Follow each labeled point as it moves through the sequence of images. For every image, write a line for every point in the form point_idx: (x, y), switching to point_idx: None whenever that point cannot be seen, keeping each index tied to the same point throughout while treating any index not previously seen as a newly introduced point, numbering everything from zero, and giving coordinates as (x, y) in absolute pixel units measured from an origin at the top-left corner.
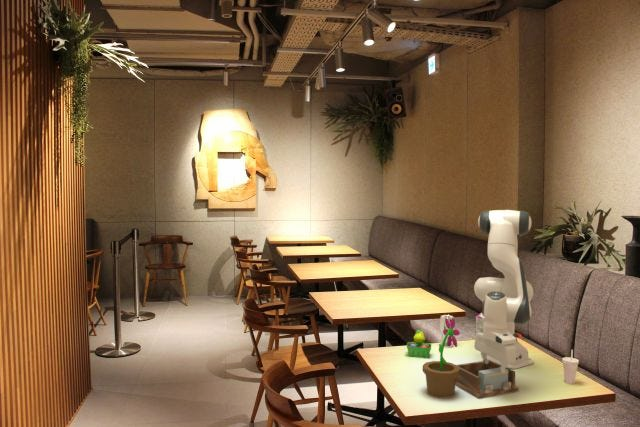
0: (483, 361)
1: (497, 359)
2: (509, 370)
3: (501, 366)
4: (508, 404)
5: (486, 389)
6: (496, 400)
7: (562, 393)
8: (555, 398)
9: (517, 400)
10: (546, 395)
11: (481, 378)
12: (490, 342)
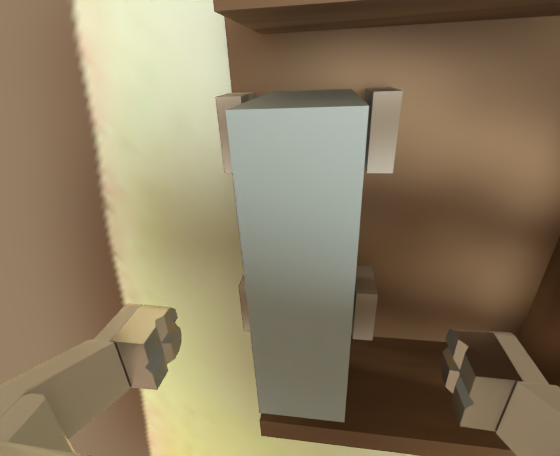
0: (509, 352)
1: (37, 453)
2: (301, 424)
3: (75, 358)
4: (101, 152)
5: (228, 95)
6: (171, 120)
7: (188, 437)
8: (147, 390)
9: (150, 241)
10: (182, 386)
11: (295, 100)
12: None
